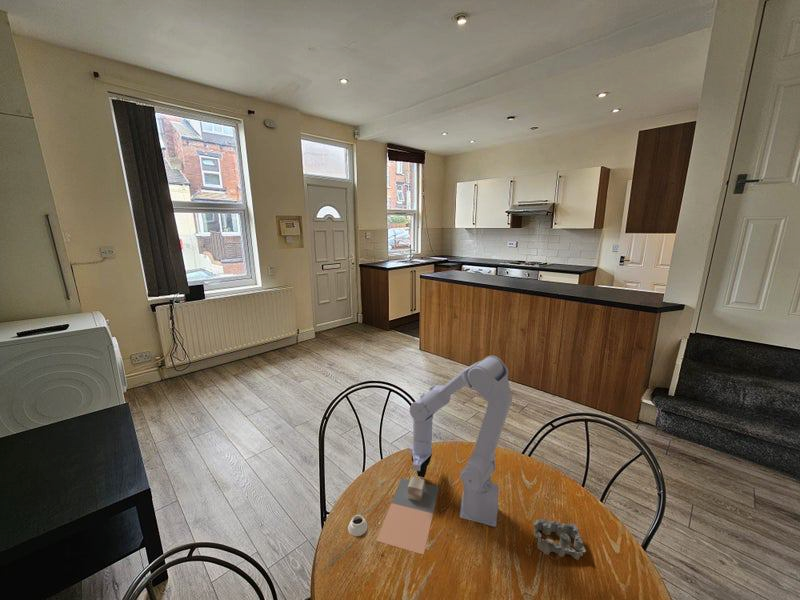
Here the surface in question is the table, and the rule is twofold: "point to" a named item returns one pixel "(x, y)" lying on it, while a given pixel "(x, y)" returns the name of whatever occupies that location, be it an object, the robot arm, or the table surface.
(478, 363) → the robot arm
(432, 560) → the table surface
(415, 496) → the cream block
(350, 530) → the white jar
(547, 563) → the table surface
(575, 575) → the table surface
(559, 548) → the egg carton
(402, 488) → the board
